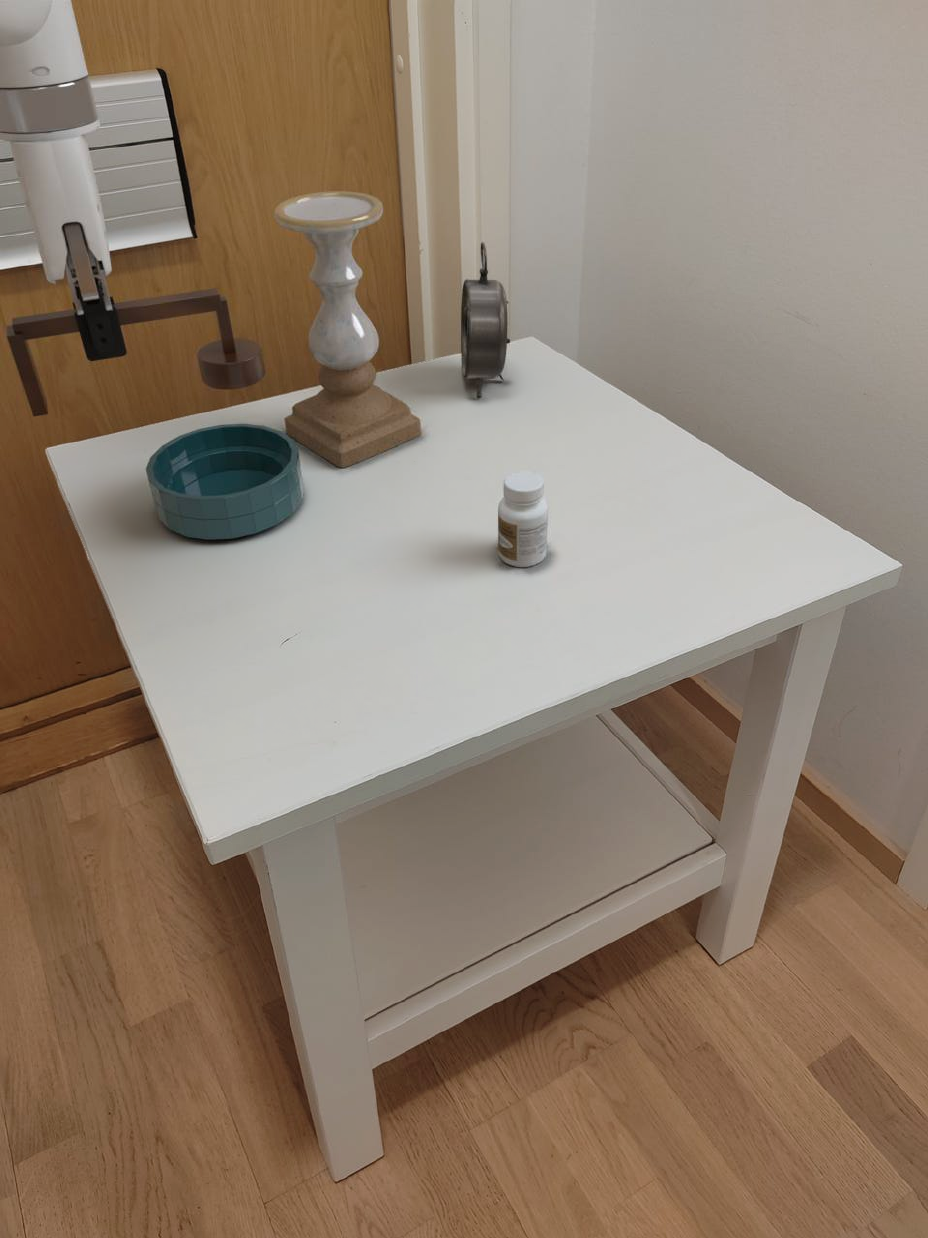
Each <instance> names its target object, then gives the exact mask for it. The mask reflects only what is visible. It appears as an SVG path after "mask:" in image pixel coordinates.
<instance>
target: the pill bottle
mask: <svg viewBox="0 0 928 1238" xmlns="http://www.w3.org/2000/svg"><path fill="white" fill-rule="evenodd" d="M544 486H545V482H544V479H543V477H542V476H541V475H540V474H538V473H536V472H533V471H529V470H518V471H513V472H511V473H509V474H507V475H506V476H505V477H504V479H503V497H502V498H501V499H500V501H499V502H498V506H497V553H498V556H499V559H501V560H502V561H503V562H504V563H505V564H507V565H510V566H512V567H517V568H529V567H533V566H535V565H538V564H540V563H541V562H542V561H544V559H545V558H546V556H547V552H548V525H549V505H548V502H547V500H546V499H545V498H544V493H545V490H544V489H545V487H544Z"/></svg>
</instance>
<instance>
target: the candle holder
mask: <svg viewBox="0 0 928 1238" xmlns="http://www.w3.org/2000/svg"><path fill="white" fill-rule="evenodd" d="M383 213H384V206H383V203H382V201H380V200H379V198H378V197H375V196H373V195H370V194H367V193H363V192H356V191H346V190H345V191H343V190H342V191H341V190H335V191H334V190H333V191H319V192H312V193H306V194H302V195H297V196H294V197H291V198H287V199H286V200H284V201H282V202H280V203H279V204H278V205H277V206H276V207H275V209H274V218H275V220H276V222H277V224H278V225H279V226H280V227H282V228H284V229H286V230H288V231H289V230H290V231H293V232H298V233H303V235H304V237H305V238H306V240H307V241H308V242H309V243H310V244H311V245H312V248H313V249H314V253H315V260H314V265H313V266H312V269H311V271H310V272H309V280H310V281H311V282H312V283H313V284H315V288H316V289H317V290H318V292H319V293H320V296H321V303H320V307H319V310H318V312H317V314H316V316H315V318H314V320H313V322H312V323H311V326H310V329H309V332H308V337H307V347H308V351H309V353H310V355H311V357H312V358H313V359H314V360H315V361H317V362H318V363H319V364H321V366H320V368H319V369H318V373H317V379H318V383H319V385H320V386H321V387H322V389H321V390H320V391H318V393H317V394H314V395H313V396H310V397H307V398H305V399H303V400H301V401H298V402H296V403H294V404H293V405H292V407H291V410H292V412H291V414H290V415H287V416H286V417H284V426H285V431H286V435H287V436H288V437H290V438H291V439H292V440H294V441H296V442H297V443H300V444H301V445H303V446H304V447H306V448H308V449H309V450H310V451H312V452H313V453H315V454H317V455H318V456H320V457H322V458H323V459H324V460H326V461H328V462H329V463H331V464H333V465H334V466H336V467H338V468H340V469H341V468H342V469H345V468H348V467H350V466H353V465H356V464H358V463H359V462H362V461H365V460H367V459H369V458H372V457H374V456H376V455H379V454H381V453H383V452H385V451H388V450H391V449H393V448H395V447H397V446H399V445H402V444H404V443H406V442H408V441H411V440H413V439H415V438H417V437H419V436H420V435H421V434H422V429H421V428H422V427H421V419H420V418H419V417H418V416H416V415H415V414H413V413H411V407H409V406H408V404H407V403H405V402H404V401H402V400H400V399H399V398H397V397H396V396H393V395H392V394H390V393H388V392H387V391H385V390H383V389H382V388H381V387H379V386H377V385H376V384H375V381H376V379H377V371H376V368H375V366H374V365H373V364H372V362H371V361H370V360H372V359H373V358H374V356H375V355H376V353H377V352H378V350H379V345H380V338H379V334H378V331H377V329H376V327H375V325H374V324H373V322H372V320H371V319H370V318H369V317H368V315H367V314H366V313H365V311H364V310H363V309H362V307H361V306H360V304H359V303H358V300H357V298H356V290H357V287H358V285H359V281H360V280H361V279H362V277H363V270H362V268H361V267H360V265H358V264H357V262H356V260H355V258H354V257H353V251H352V249H353V243H354V241H355V239H356V237H357V236H358V233H359V232H360V229H363V228H365V227H368V226H371V225H373V224H374V223H376V222H378V221H379V220H380V219H381V217H382V215H383Z"/></svg>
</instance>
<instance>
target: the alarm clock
mask: <svg viewBox="0 0 928 1238" xmlns="http://www.w3.org/2000/svg"><path fill="white" fill-rule="evenodd" d="M480 258H481V259H480V261H481V268H480V269H479V279H467V278H465V280H464V281H463V285H462V290H461V291H462V292H461V304H460V305H461V307H460V309H461V310H460V311H461V313H460V314H461V315H460V354H461V355H460V356H461V372H462V377H463V378H464V379H465V380H470V379H471V380H472V379H473V380H475V386H476V393H477V394H476V399H481V398H482V396H483V394H482V388H483V380H494V379H495V380H496V379H497V378H498V377H499V378H500V379H501V380H502V381H503V382H505V380H504V378H503V376H502V373H503V371H504V368H505V364H506V359H507V348H508V344H510V343H511V339H510V338H508V323H509V322H508V304H509V301H508V300H507V294H506V290H505V287H504V285H503V284H502V282H500V281H499V280H497V279H488V274H489V269H488V253H487V246H486V243H485V242H484V241H482V242H481V243H480Z"/></svg>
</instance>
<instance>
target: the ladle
mask: <svg viewBox="0 0 928 1238" xmlns="http://www.w3.org/2000/svg"><path fill="white" fill-rule="evenodd" d="M114 306H115V307H116V311H117V315H118V319H119V323H120V327H122V326H127V325H133V324H140V323H147V322H154V321H160V320H166V319H173V318H178V317H179V318H180V317H185V316H186V317H187V316H191V315H192V316H193V315H199V314H204V313H205V314H206V313H211V312H215V315H216V321H217V327H218V331H219V337H220V339H219V340H215V341H211V342H208V343H207V344H204V345H203V346H201V347H200V348H199V349H198V351H197V353H196V356H197V361H198V366H199V372H200V375H201V381H202V382H203V384H204V385H205V386H206V387H209V388H212V389H217V390H228V391H229V390H238V389H243V388H247V387H250V386H253V385H256V384H257V383H259V382H261V381H262V380H263V379H264V377H265V376H266V367H265V361H264V355H263V349H262V346H261V344H260V343H259V342H257V341H255V340H252V339H248V338H242V337H241V338H239V337H236V338H235V337H234V333H233V327H232V322H231V316H230V311H229V304H228V300H227V298H226V296H221V293H220V292H219V289H218V288H216V287H215V288H208V289H207V288H206V289H203V290H194V291H187V292H181V293H175V294H167V295H160V296H154V297H146V298H141V299H133V300H127V301H120V302H114V303H112V307H114ZM105 308H106V307H105ZM83 310H84V309H83ZM74 312H77V311H76V309H74V308H72V309H65V310H59V311H52V312H51V311H50V312H45V313H38V314H32V315H24V316H18V317H13V318H11V324H10V325H6V339H7V342H8V345H9V348H10V351H11V354H12V357H13V360H14V363H15V366H16V369H17V373H18V375H19V378H20V381H21V384H22V387H23V390H24V393H25V396H26V399H27V402H28V404H29V408H30V411H31V414H32V417H40V416H46V415H49V409H48V401H47V397H46V395H45V391H44V388H43V385H42V381H41V379H40V375H39V373H38V370H37V366H36V363H35V361H34V357H33V353H32V350H31V348H30V345H29V342H28V341H30V340H36V339H43V338H48V337H49V338H50V337H54V336H55V337H56V336H62V335H67V334H75V333H76V334H77V333H80V332H79V328H78V325H77V321H76V318H75V314H74Z"/></svg>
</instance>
